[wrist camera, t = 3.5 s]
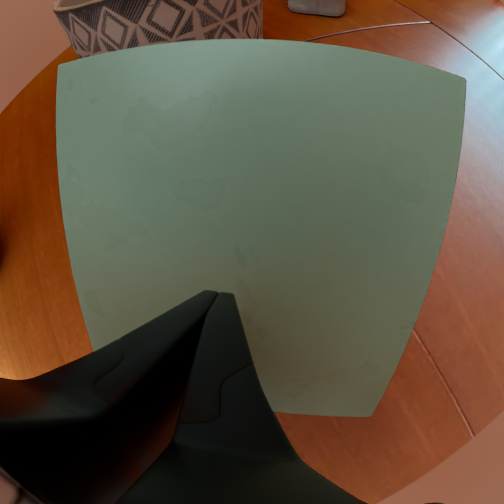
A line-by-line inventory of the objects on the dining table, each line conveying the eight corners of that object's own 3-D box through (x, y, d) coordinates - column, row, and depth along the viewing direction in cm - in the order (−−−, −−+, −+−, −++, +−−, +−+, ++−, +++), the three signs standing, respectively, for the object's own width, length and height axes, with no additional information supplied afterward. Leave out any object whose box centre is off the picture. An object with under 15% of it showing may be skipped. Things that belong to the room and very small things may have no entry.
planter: (291, 114, 29) (296, -39, 14) (106, 166, 28) (25, 40, 13) (242, 32, 36) (233, -67, 20) (112, 69, 35) (73, -22, 20)
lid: (70, 65, 9) (57, 64, 8) (455, 80, 7) (467, 78, 6) (108, 365, 15) (101, 375, 14) (369, 405, 13) (371, 417, 12)
